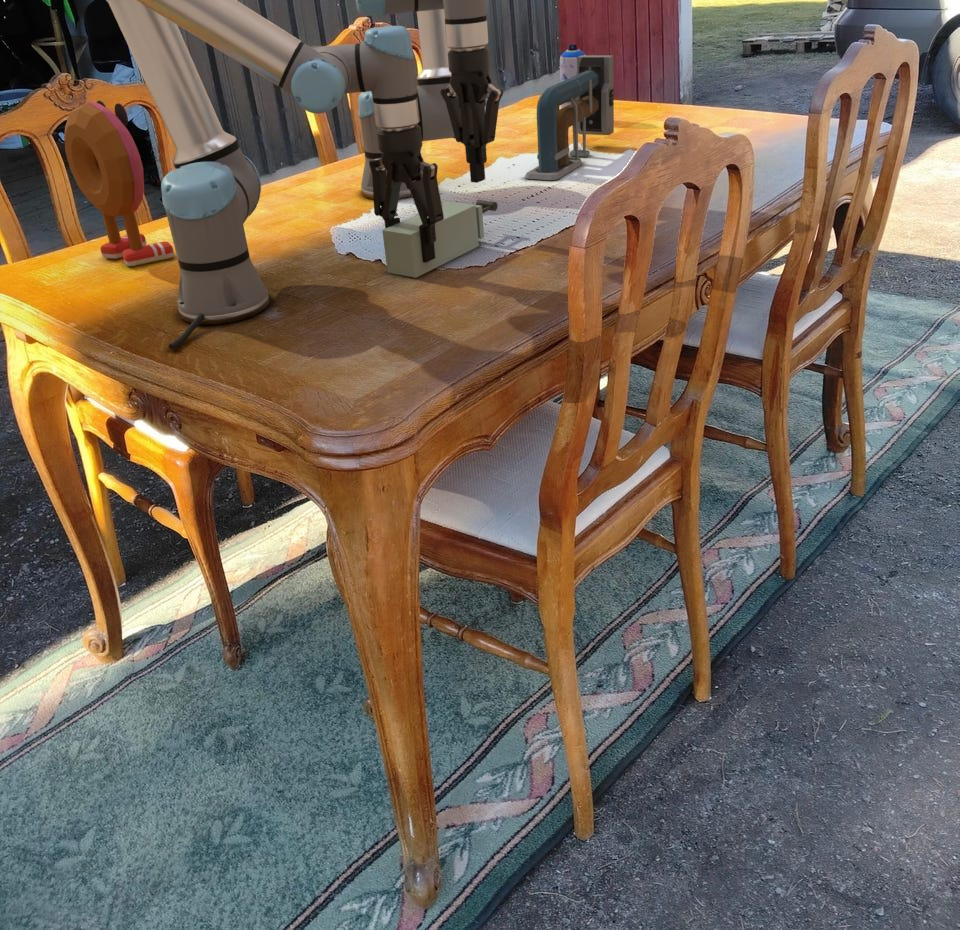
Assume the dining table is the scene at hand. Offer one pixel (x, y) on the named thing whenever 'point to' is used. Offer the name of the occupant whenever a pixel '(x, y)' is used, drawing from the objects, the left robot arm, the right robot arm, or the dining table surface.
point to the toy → (111, 178)
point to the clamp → (574, 116)
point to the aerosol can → (569, 65)
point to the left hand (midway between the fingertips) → (413, 257)
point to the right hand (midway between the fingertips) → (478, 180)
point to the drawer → (481, 208)
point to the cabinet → (451, 242)
